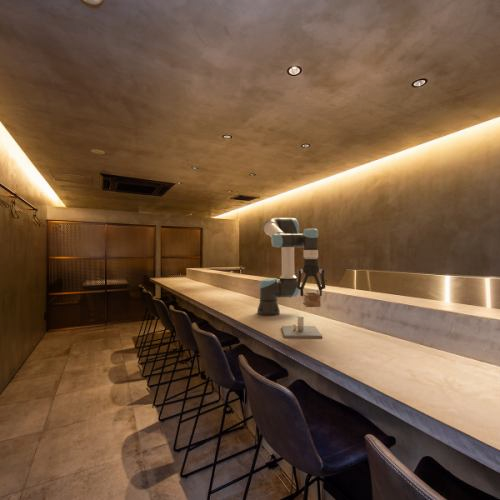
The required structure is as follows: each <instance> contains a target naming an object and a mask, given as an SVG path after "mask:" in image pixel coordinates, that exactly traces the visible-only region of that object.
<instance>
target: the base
mask: <svg viewBox="0 0 500 500" xmlns="http://www.w3.org/2000/svg"><path fill="white" fill-rule="evenodd" d="M304 318H305V317H304V316H297V324H296V323H294V324H293V325H281V331H282V334H283V338H284V339H323V335H322V334H321V332H320V331H319V330H318V328H317V327H316V325H304V323H305V321H304Z"/></svg>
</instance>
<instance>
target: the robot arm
mask: <svg viewBox="0 0 500 500" xmlns="http://www.w3.org/2000/svg"><path fill="white" fill-rule="evenodd" d="M262 230H263V232H264V234H265V235H267V236H269V237H270V238H271V239H270V242H271V246H272V247H273V248H281V275H280V276H279V279H277V278H276V277H269V278H264V279H262V280H260V282H259V303H258V306H257V311H256V312H257V313H256V314H257V315H259V316H265V317H267V316H277V315H280V312H281V309H280V306H279V303H278V298H296V297H298V295H299V294H300V296H301V299H302V300H301V301H302V304H303V303H305V292H306V291H305V289H304V288H305V286H306V284H307V280H308V278H309V277H313V278H314V281H315V283H316V286H317V288H318V289H317V290H316V293H318V294H320V297H322V294H323V293H322V291H323V290H325V289H326V280H325V269H320V268H319V267H320V266H319V259H318V258H319V230H318V229H317V228H304V229H303V233H300V224H299V222H298V220H297V218H295V217H271V218H269V219H267V220H266V221H265V222H264V224H263V228H262ZM295 248H303V258H304V259H303V267H302V269H297V274H298V275H295ZM303 273H304V277H303V280H301V279H302V274H303ZM318 273H319V274H320V275H319V276H320V280H319V277H318ZM301 282H302V283H301Z"/></svg>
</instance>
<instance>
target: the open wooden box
mask: <svg viewBox="0 0 500 500" xmlns="http://www.w3.org/2000/svg"><path fill="white" fill-rule="evenodd" d="M302 305H304V307H306V308H321V296H320V294H318V293H317V291H311V292H310V291H307V292H306V291H305V303H303V302H302Z"/></svg>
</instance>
